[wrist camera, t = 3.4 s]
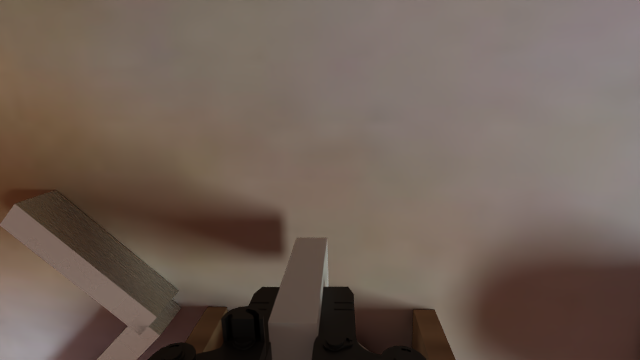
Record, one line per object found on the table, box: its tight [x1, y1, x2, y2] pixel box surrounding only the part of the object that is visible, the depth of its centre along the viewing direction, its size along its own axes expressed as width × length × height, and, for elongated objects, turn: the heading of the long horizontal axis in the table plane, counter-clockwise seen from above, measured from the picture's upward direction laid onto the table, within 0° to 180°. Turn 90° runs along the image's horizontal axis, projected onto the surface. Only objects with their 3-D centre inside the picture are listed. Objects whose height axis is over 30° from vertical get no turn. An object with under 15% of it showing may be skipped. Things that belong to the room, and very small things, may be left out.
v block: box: [0, 190, 181, 360], centre depth 20 cm, size 14×8×2 cm, turn 2°
